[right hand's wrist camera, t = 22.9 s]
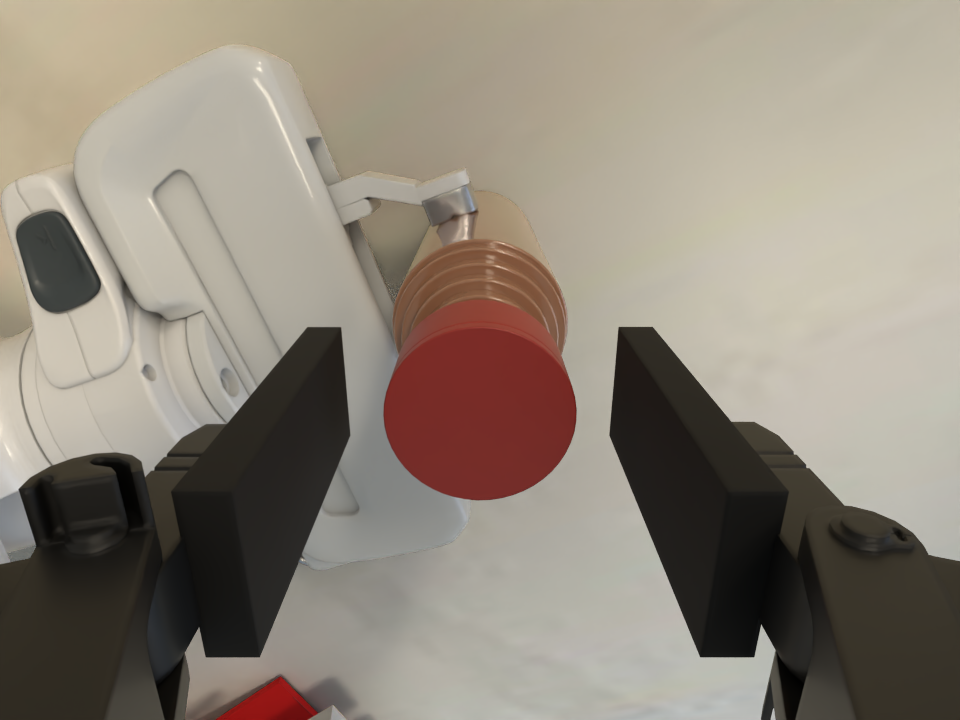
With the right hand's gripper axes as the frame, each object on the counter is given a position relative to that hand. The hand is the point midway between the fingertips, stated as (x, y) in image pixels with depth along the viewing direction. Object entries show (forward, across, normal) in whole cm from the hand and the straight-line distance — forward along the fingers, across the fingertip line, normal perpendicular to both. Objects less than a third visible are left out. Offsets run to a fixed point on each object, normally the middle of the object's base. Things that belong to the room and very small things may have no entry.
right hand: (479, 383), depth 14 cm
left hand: (+10, -1, 0) cm, 10 cm away
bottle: (+17, 0, 0) cm, 17 cm away
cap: (-1, 0, 0) cm, 1 cm away
